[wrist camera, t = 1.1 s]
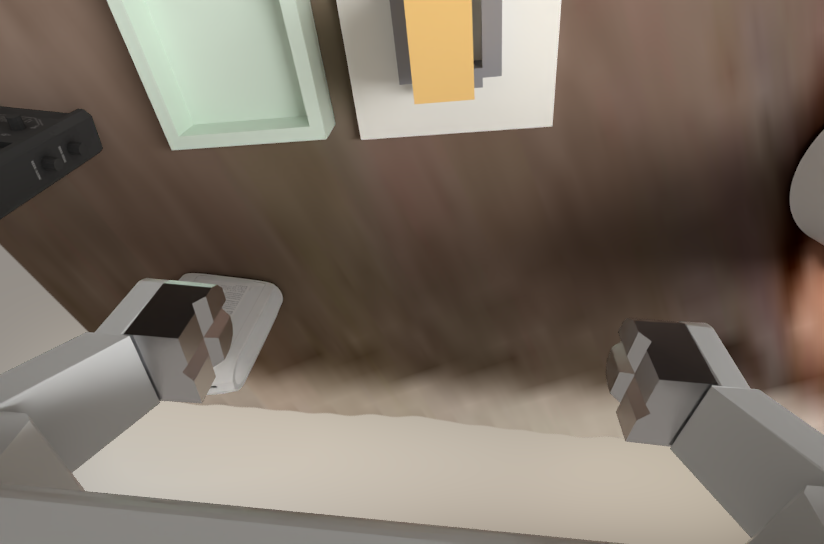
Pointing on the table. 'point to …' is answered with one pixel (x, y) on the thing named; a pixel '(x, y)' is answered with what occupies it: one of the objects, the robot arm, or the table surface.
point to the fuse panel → (493, 69)
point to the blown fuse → (440, 49)
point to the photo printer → (242, 325)
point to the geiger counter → (41, 151)
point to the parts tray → (229, 69)
